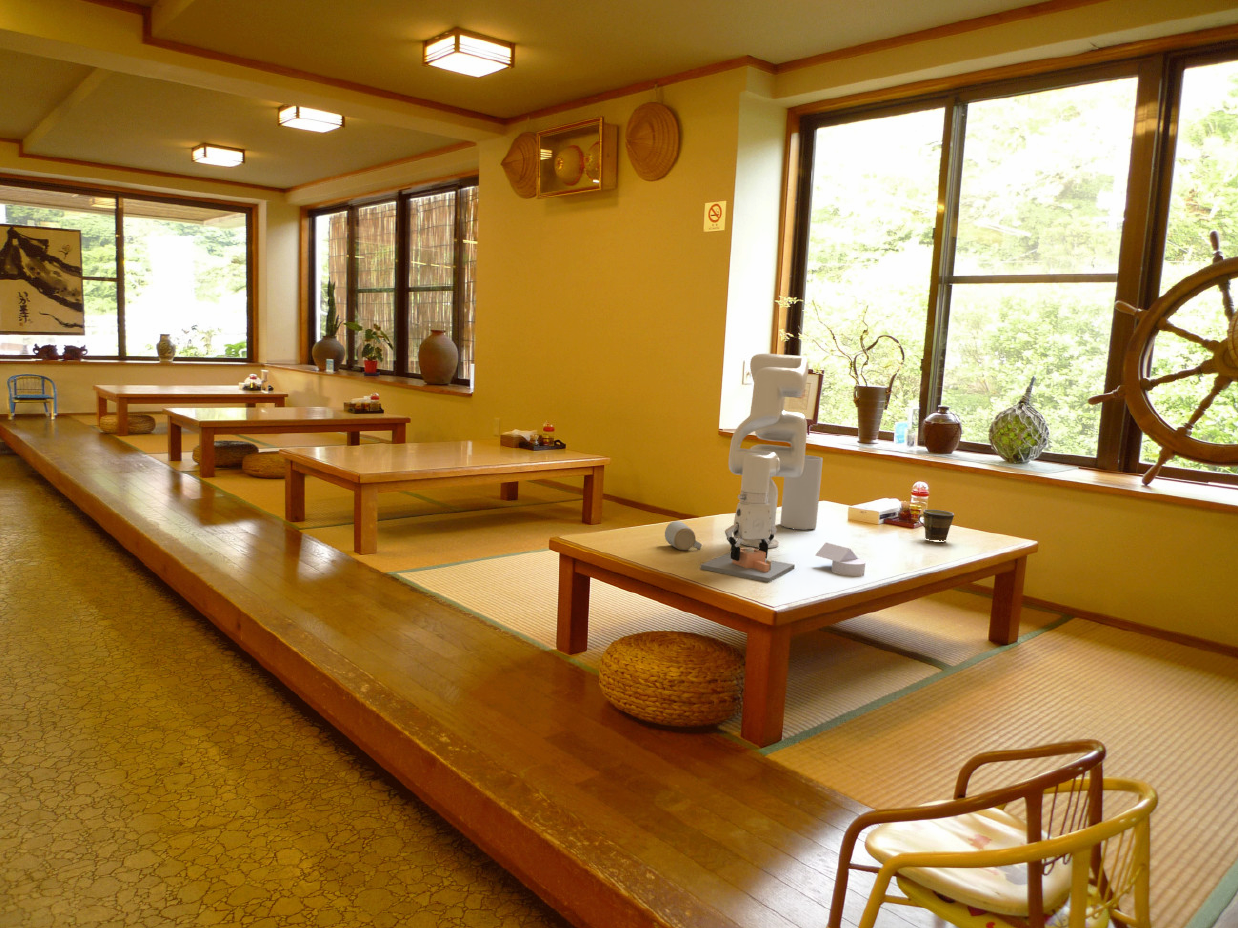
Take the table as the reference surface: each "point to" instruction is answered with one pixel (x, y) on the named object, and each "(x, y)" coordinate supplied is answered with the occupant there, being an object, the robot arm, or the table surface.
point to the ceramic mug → (681, 536)
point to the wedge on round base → (842, 560)
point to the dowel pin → (769, 563)
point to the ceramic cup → (936, 524)
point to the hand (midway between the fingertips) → (748, 558)
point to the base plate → (727, 567)
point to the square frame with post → (753, 560)
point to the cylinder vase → (802, 496)
